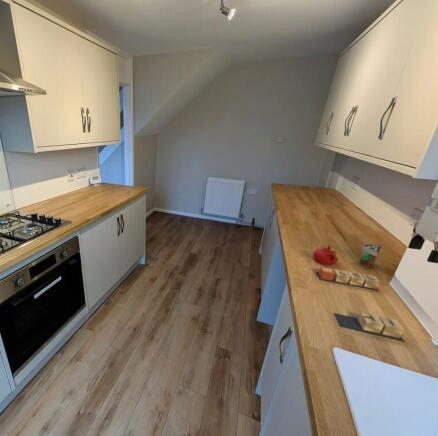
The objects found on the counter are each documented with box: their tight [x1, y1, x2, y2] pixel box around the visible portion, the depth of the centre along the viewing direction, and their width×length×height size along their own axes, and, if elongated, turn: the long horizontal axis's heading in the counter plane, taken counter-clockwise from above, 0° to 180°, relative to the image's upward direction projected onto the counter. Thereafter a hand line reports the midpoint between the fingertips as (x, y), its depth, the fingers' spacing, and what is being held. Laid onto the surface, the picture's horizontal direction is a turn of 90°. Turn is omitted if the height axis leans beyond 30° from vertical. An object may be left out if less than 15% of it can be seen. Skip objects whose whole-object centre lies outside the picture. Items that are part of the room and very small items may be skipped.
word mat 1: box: [315, 271, 380, 292], centre depth 104 cm, size 21×7×1 cm, turn 69°
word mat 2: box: [332, 312, 406, 343], centre depth 80 cm, size 17×7×1 cm, turn 69°
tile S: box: [317, 266, 335, 281], centre depth 106 cm, size 4×4×4 cm
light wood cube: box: [361, 273, 380, 289], centre depth 101 cm, size 4×4×4 cm
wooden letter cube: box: [347, 271, 365, 286], centre depth 102 cm, size 4×4×4 cm
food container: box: [359, 242, 383, 270], centre depth 117 cm, size 12×6×10 cm, turn 130°
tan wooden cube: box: [358, 311, 384, 333], centre depth 79 cm, size 4×4×4 cm
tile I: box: [378, 315, 405, 338], centre depth 77 cm, size 4×4×4 cm
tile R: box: [333, 268, 350, 284], centre depth 104 cm, size 4×4×4 cm
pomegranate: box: [312, 245, 339, 267], centre depth 118 cm, size 10×10×9 cm
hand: (423, 255), depth 77 cm, fingers open, 9 cm apart
